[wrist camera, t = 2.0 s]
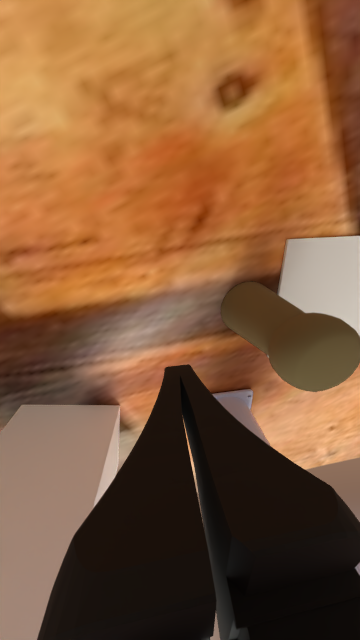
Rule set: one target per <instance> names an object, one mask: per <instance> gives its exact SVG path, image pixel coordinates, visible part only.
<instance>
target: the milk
mask: <svg viewBox="0 0 360 640" xmlns="http://www.w3.org/2000/svg"><path fill="white" fill-rule="evenodd" d="M119 425H120V405H21V406H20V408H19V409H18V410H17V412H16V413H15V414H14V415H13V417H12V418H11V419H10V421H9V422H8V423H7V424H6V426H5V427H4V428H3V430H2V431H1V432H0V640H37V638H38V634H39V631H40V628H41V624H42V621H43V617H44V614H45V611H46V607H47V604H48V601H49V597H50V594H51V591H52V588H53V585H54V582H55V580H56V577H57V575H58V572H59V569H60V567H61V564H62V562H63V559H64V557H65V554H66V552H67V549H68V547H69V545H70V542H71V540H72V538H73V536H74V534H75V533H76V531H77V530H78V529H79V527H80V526H81V525H82V523H83V522H84V520H85V519H86V518H87V516H88V515H89V514H90V512H91V511H92V509H93V508H94V507H95V505H96V504H97V503H98V501H99V500H100V498H101V497H102V496H103V494H104V493H105V491H106V490H107V488H108V487H109V486H110V484H111V482H112V481H113V479H114V478H115V476H116V472H117V468H118V463H119Z"/></svg>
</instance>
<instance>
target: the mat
mask: <svg viewBox="0 0 360 640" xmlns="http://www.w3.org/2000/svg"><path fill="white" fill-rule="evenodd" d="M277 295H279V296H280V297H282V298H284V299H285V300H287V301H288V302H290V303H291V304H293V305H294V306H296V307H297V308H299V309H300V310H302V311H303V312H305V313H312V312H314V313H323V314H327V315H331V316H334V317H337V318H340V319H342V320H343V321H344V322H346V323H347V324H349V325H350V326H351V327H352V328H354V329H355V330H356V331H357V333H358V335H359V336H360V236H344V237H324V238H304V239H286V245H285V250H284V256H283V262H282V268H281V274H280V280H279V286H278V292H277ZM267 357H268V358H269V356H268V355H267Z"/></svg>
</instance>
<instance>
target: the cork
mask: <svg viewBox="0 0 360 640" xmlns="http://www.w3.org/2000/svg"><path fill="white" fill-rule="evenodd" d="M221 316H222V320H223V322H224V323H225V324H226V326H227V327H228V328H230V329H231V330H233V331H234V332H236V333H237V334H238V335H240V336H241V337H243V338H244V339H246V340H247V341H248V342H250V343H251V344H253V345H254V346H256V347H257V348H258V349H260V350H261V351H263V352H264V353H266V354H267V355H268V356H269V360H270V363H271V365H272V367H273V369H274V370H275V371H276V372H277V374H278V375H279V376H280V377H281V378H282V379H283V380H284V381H285V382H287V383H289V384H290V385H292V386H294V387H296V388H298V389H301V390H305V391H312V392H317V391H323V390H327V389H329V388H332V387H335V386H337V385H339V384H340V383H342V382H343V381H345V380H346V379H347V378H348V377H349V376H351V375H352V374H353V372H354V371H355V370H356V368H357V367H358V365H359V363H360V336H359V335H358V333H357V331H356V330H355V329H354V328H352V327H351V326H350V325H349V324H347V323H346V322H344V321H343V320H342V319H340V318H337V317H334V316H331V315H327V314H323V313H314V312H312V313H305V312H303V311H302V310H300V309H299V308H297V307H296V306H294V305H293V304H291V303H290V302H288V301H287V300H285V299H284V298H282V297H280V296H279V295H277V294H276V293H274V292H273V291H271V290H270V289H268V288H267V287H265V286H264V285H262V284H261V283H257V282H253V281H251V282H243V283H241V284H239V285H236V286H235V287H234V288H233V289H231V290H230V291H229V292H228V293H227V295H226V296H225V298H224V300H223V303H222V305H221Z"/></svg>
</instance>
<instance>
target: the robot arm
mask: <svg viewBox="0 0 360 640" xmlns="http://www.w3.org/2000/svg"><path fill="white" fill-rule="evenodd" d="M252 397H253V391H252V390H251V389H246V390H238V391H230V392H223V393H215V394H211V393H210V391H209V390H208V389H207V388H206V387H205V385H204V384H203V383H202V382H201V380H200V379H199V378H198V376H197V375H196V374H195V372H194V371H193V369H192V367H191V366H190V365H189V364H188V365H180V366H171V367H166V368H165V373H164V378H163V382H162V386H161V389H160V392H159V395H158V398H157V400H156V403H155V405H154V408H153V410H152V412H151V415H150V417H149V419H148V421H147V423H146V425H145V427H144V429H143V431H142V433H141V435H140V437H139V439H138V440H137V442H136V444H135V446H134V447H133V449H132V451H131V453H130V454H129V456H128V458H127V459H126V461H125V462H124V464H123V466H122V467H121V469H120V470H119V472H118V473H117V475H116V476H115V478H114V479H113V481H112V482H111V484H110V486H109V487H108V488H107V490H106V491H105V493H104V494H103V496H102V497H101V498H100V500H99V501H98V503H97V504H96V505H95V507H94V508H93V509H92V511H91V512H90V514H89V515H88V516H87V518H86V519H85V520H84V522H83V523H82V525H81V526H80V527H79V529H78V530H77V531H76V533H75V534H74V536H73V538H72V540H71V542H70V545H69V547H68V549H67V552H66V554H65V557H64V559H63V562H62V564H61V567H60V569H59V572H58V575H57V577H56V580H55V582H54V585H53V588H52V591H51V594H50V597H49V601H48V604H47V607H46V611H45V614H44V617H43V621H42V624H41V628H40V631H39V634H38V638H37V640H210V637H211V636H213V631H214V622H215V613H217V620H218V627H219V633H220V639H221V640H360V522H359V521H358V519H357V518H356V517H355V515H354V514H353V513H352V511H351V510H350V509H349V507H348V506H347V505H346V504H345V502H344V501H343V500H342V499H341V498H340V497H339V495H338V494H337V493H336V492H335V490H334V489H333V488H332V487H331V486H330V485H328V484H327V483H325V482H323V481H322V480H320V479H319V478H317V477H315V476H314V475H312V474H311V473H309V472H308V471H306V470H304V469H303V468H301V467H300V466H298V465H296V464H295V463H293V462H292V461H290V460H289V459H288V458H286V457H285V456H283V455H282V454H280V453H279V452H278V451H276V450H275V449H273V448H272V447H271V446H270V444H269V442H268V440H267V439H266V437H265V435H264V433H263V432H262V430H261V428H260V426H259V425H258V423H257V421H256V420H255V418H254V416H253V414H252V413H251V404H252ZM182 415H183V416H182ZM183 419H184V422H183ZM184 423H185V428H186V432H187V436H188V440H189V445H190V449H191V453H192V457H193V462H194V467H195V473H196V479H197V486H198V492H199V498H200V505H201V511H202V517H201V513H200V507H199V502H198V497H197V492H196V487H195V482H194V476H193V471H192V466H191V461H190V455H189V450H188V444H187V439H186V433H185V428H184ZM202 518H203V522H202ZM203 524H204V527H203ZM204 531H205V532H204Z"/></svg>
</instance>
